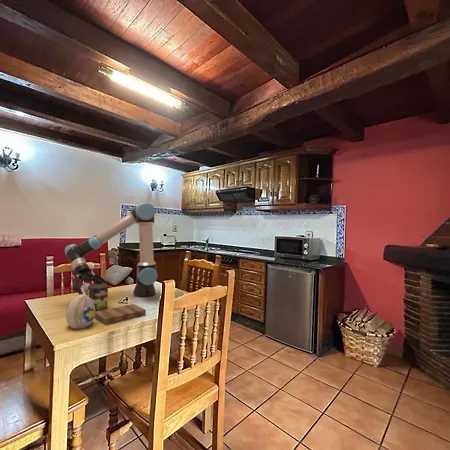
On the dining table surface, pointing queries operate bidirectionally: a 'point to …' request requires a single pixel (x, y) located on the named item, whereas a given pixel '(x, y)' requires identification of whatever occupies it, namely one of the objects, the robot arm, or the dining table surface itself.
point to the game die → (85, 287)
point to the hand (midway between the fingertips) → (96, 296)
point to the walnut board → (119, 314)
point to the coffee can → (98, 296)
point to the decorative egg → (80, 312)
